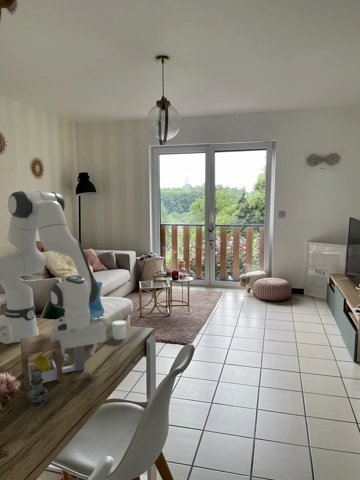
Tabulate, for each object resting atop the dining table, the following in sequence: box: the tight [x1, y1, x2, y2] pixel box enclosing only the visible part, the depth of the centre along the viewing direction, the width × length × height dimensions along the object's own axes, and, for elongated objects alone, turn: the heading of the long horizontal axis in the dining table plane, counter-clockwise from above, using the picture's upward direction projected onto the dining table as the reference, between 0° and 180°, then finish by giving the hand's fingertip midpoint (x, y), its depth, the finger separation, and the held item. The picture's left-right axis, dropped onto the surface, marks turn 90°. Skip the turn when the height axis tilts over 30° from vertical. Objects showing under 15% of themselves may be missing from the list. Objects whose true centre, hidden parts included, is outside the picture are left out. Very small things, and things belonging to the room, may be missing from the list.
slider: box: [28, 345, 86, 386], centre depth 130 cm, size 19×9×9 cm, turn 116°
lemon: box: [32, 355, 50, 372], centre depth 128 cm, size 6×6×8 cm
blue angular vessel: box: [88, 280, 105, 319], centre depth 164 cm, size 10×10×25 cm
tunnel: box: [20, 332, 64, 391], centre depth 128 cm, size 12×13×13 cm
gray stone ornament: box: [26, 367, 49, 409], centre depth 112 cm, size 6×6×12 cm
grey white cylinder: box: [110, 319, 128, 341], centre depth 165 cm, size 7×7×7 cm
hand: (79, 357), depth 134 cm, fingers open, 8 cm apart
